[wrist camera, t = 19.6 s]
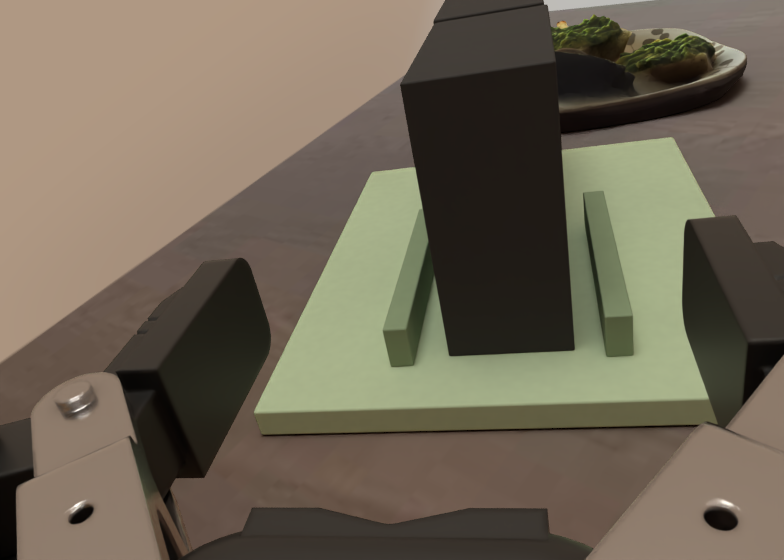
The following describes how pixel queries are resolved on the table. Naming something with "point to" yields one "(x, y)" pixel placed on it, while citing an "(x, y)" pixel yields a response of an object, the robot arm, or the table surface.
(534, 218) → the tall dark upright box
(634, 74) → the salad plate
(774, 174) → the table surface
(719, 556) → the robot arm
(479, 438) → the table surface
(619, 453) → the table surface
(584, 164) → the dock mat
